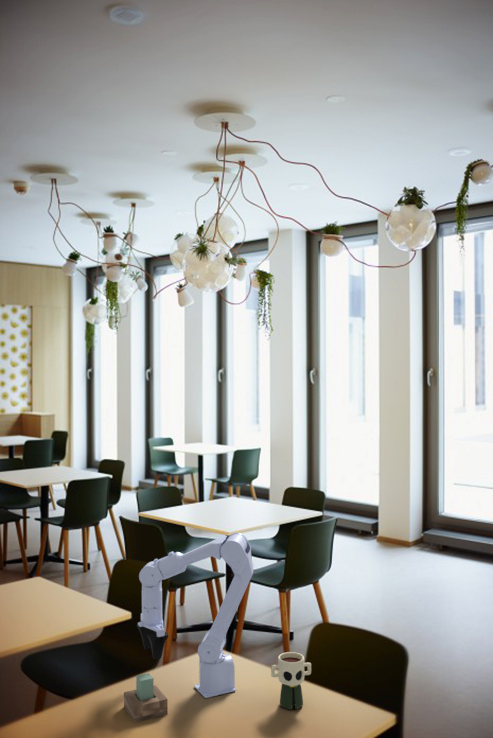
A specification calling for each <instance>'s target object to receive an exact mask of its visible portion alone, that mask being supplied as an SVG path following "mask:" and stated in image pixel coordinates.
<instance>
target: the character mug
mask: <svg viewBox="0 0 493 738" xmlns="http://www.w3.org/2000/svg"><path fill="white" fill-rule="evenodd" d="M305 667H307V670H306V671H305ZM275 669H277V673H276V671H275ZM311 674H312V663H311V662H305V656H304V655H303V654H302V653H299V652H294V651H287V652H283V653H281V654H279V655H278V657H277V664H272V665H270V675H271V678H277V679H278V682H280V683H281V688H280V696H279V697H280V698H279V705H280V706H281V707H282V708H285V709H287V710H288V709H289V710H292V709H293V706H294V708H295V709H297V710H298V709H300V708H301V707H303V705H304V699H303V691H302V685H301V684H302V683H304V680H305V676H310V675H311Z"/></svg>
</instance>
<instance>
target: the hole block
mask: <svg viewBox="0 0 493 738" xmlns="http://www.w3.org/2000/svg"><path fill="white" fill-rule="evenodd" d="M153 690H154V698H152V699H147V700H143V701H139V700H138V698H137V694H136V689H132V690H129V691H128V690H127V691H124V692H123V708H124V710H125V711H126V712H127V714H128V715H129V717H130V718H131V719H132V721H133V722H134V723H138V722H141V721H145V720H149V719H154V718H157V717H161V716H166V715H168V711H169V710H168V708H169V707H168V703H169V701H168V698H167V697H166V696H165V694H164V693H163V691H161V689H160V688H159V687H158V686H157V684H153Z"/></svg>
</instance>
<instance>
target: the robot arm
mask: <svg viewBox="0 0 493 738" xmlns="http://www.w3.org/2000/svg"><path fill="white" fill-rule="evenodd" d="M211 557H212V558H214V559H217V560H221V559H223V561H224V562H225V563H226V564H227V565H228V566H229V567H230V568H231V571H232V573H233V574H234V575H233V578H232V579H231V580H232V581H231V583H230V584H229V587H228V590H227V591H226V593H225V596H224V599H223V601H222V603H221V605H220V608H219V610H218V612H217V614H216V616H215V619H214V621H213V623H212V625H211V627H210V629H209V630H207V631H206V632H205V634H204V637H203V639H202V641H201V642H200V643H199V645H198V648H197V655H198V657H199V658H198V659H199V663H198V666H199V676H198V677H199V683H197V684H194V688H195V689H196V690H197V691H198V692H199V693H200V695H202V696H203V698H205V699H208V698H212V697H216V696H219V695H224V694H228V693H233V692H236V691H237V690H236V688H235V686H236V682H235V677H236V676H235V671H236V670H235V663H234V659H233V657H232V656H231V655H230V654H225V653H224V651H223V649H224V647H225V646H226V643H227V637H226V636H227V633H228V630H229V627H230V626H231V624H232V622H233V619H234V617H235V614H236V612H237V611H238V608H239V606H240V604H241V601H242V599H243V597H244V594H245V592H246V590H247V588H248V586H249V584H250V582H251V580H252V577H253V574H254V563H253V557H252V546H251V544H250V542H249V541H248V539H247V537H246V536H245V535H244V534H242V533H240V532H233V533H231V534H229V535H223V536H221V537H218V538H216V539H213V540H211V541H209V542H207V543H205V544H202V545H200V546H197V547H196V548H193V549H192V550H190V551H188V552H185V553H182V552H179V551H176V552H174V551H170V552H168V554H167V556H166V555H165V556H163V557H161V558H159V559H158V558H154V560H153V561H149V562H148V563H146V564H145V565H144V566H143V568H141V570H140V571H139V574H138V579H139V582H140V583H141V613H140V621H139V622H137V623H136V627H137V629H138V631H139V633H140V636H141V640H142V644H143V648H144V650H149V649H151V655H152V658H153V660H156V659H157V660H158V659H162V656H163V651H164V647H165V645H166V641H167V640H168V638H169V633H168V632H167V631H166V632H165V628H164V620H163V586H162V584H163V582H162V581H163V580H167V579H169V578H171V577H175V576H177V575H179V574H181V573H185V571H186V570H187V567H188V566H189V565H191V564H195V563H197V562H200V561H202V560H206V559H208V558H211Z"/></svg>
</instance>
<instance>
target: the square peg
mask: <svg viewBox="0 0 493 738" xmlns="http://www.w3.org/2000/svg"><path fill="white" fill-rule="evenodd" d="M135 678H136V679H135V683H136V685H135V686H136V688H135V690H136V694H137V698H138V700H139V701H143V700H147V699H152V698H154V690H153V686H154V677H153V676H152V674H150V673H149V672H148V673H143V674H138V675H136V677H135Z"/></svg>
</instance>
